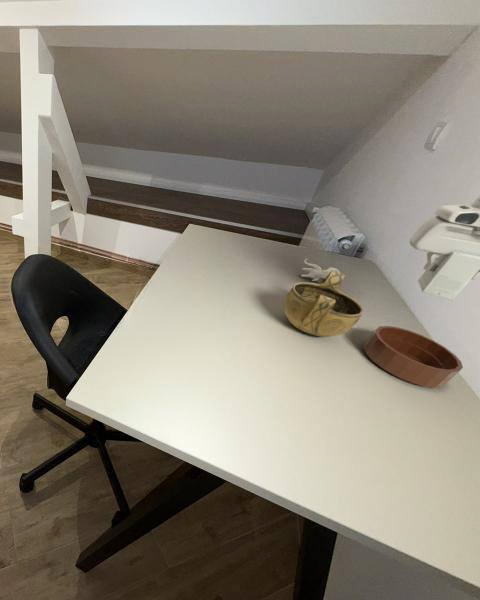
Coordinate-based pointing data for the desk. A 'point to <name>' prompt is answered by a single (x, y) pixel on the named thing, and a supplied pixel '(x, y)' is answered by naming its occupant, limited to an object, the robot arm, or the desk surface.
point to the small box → (450, 275)
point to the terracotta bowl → (412, 356)
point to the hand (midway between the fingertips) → (447, 274)
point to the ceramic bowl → (322, 307)
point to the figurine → (317, 272)
